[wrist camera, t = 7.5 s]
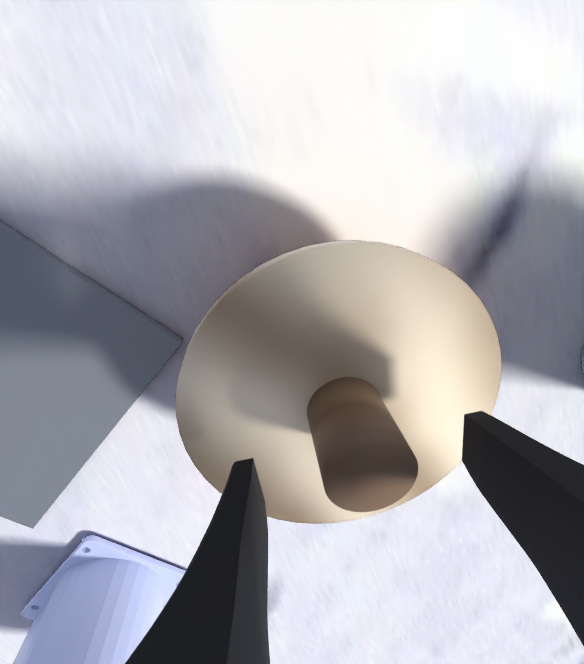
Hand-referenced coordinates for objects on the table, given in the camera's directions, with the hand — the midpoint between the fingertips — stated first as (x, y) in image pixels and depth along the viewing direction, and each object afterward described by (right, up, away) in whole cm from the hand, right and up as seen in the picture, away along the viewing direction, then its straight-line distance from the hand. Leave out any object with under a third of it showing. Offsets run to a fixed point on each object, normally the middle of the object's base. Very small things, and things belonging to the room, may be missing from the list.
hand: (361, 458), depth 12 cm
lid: (0, +1, +3) cm, 3 cm away
